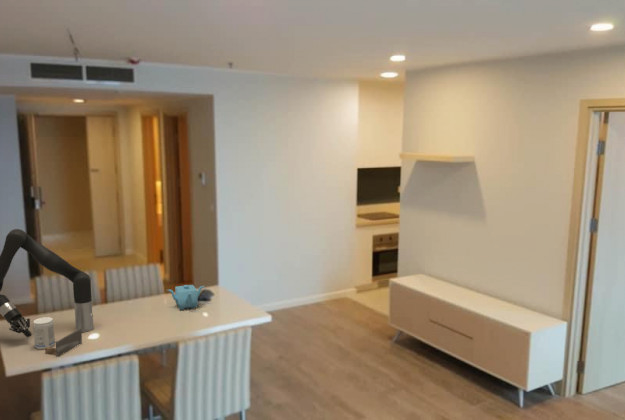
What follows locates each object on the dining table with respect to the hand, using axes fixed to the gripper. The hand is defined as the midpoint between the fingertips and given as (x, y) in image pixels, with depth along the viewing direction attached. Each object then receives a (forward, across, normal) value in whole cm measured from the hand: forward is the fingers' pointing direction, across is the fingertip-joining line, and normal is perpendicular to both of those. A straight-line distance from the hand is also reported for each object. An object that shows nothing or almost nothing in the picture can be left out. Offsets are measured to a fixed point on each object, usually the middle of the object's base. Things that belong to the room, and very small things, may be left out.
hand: (29, 336), depth 280 cm
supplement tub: (+10, 0, -3) cm, 11 cm away
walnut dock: (+18, 0, -12) cm, 22 cm away
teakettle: (+40, +78, -34) cm, 94 cm away
